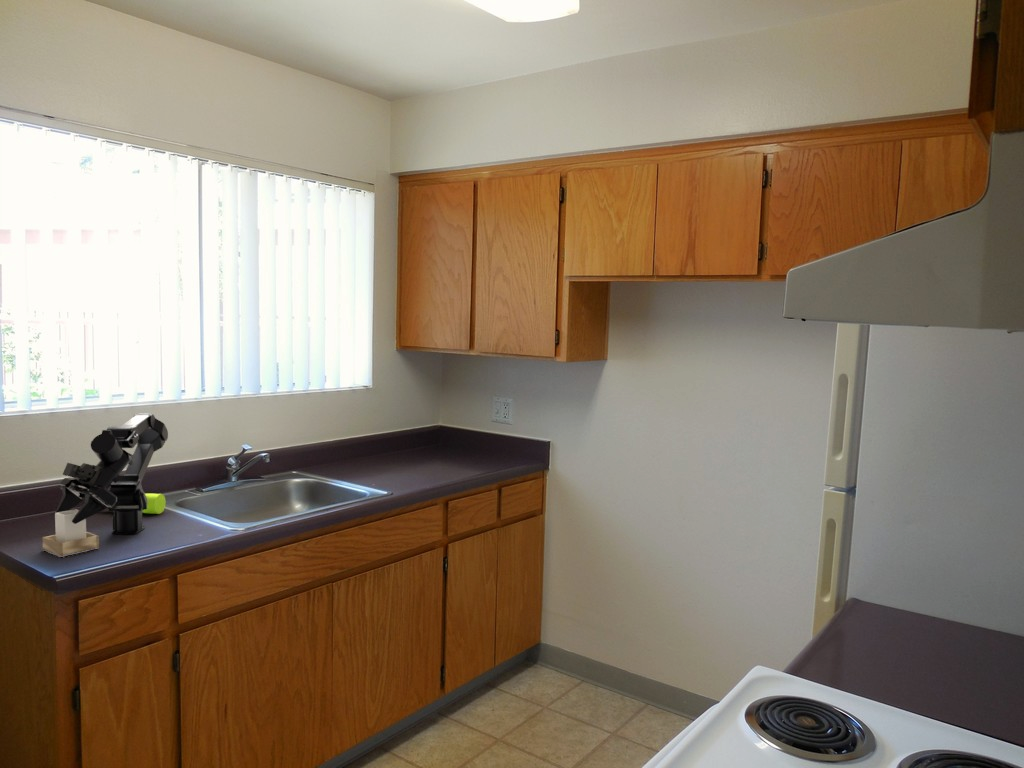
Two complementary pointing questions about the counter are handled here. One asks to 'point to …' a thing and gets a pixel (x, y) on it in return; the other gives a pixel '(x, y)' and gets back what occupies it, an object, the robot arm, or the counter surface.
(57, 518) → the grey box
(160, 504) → the soap dispenser
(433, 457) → the counter surface
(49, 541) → the pine crate
